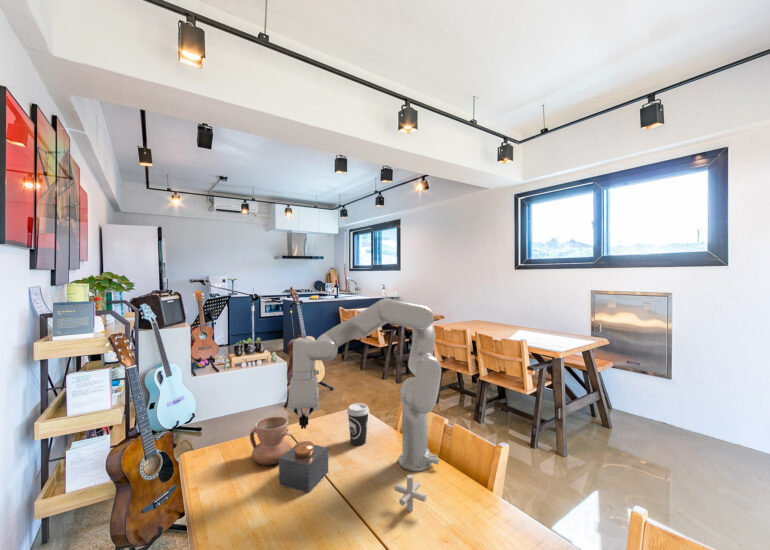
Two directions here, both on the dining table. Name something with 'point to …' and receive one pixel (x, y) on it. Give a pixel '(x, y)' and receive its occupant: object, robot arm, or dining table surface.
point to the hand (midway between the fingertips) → (303, 426)
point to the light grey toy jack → (409, 493)
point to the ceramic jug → (270, 440)
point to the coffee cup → (358, 423)
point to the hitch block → (303, 469)
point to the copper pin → (304, 449)
